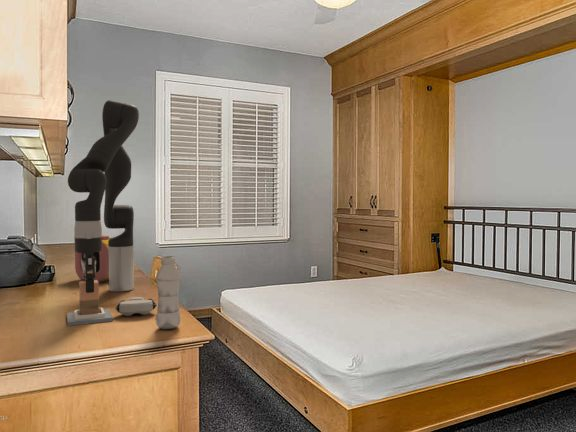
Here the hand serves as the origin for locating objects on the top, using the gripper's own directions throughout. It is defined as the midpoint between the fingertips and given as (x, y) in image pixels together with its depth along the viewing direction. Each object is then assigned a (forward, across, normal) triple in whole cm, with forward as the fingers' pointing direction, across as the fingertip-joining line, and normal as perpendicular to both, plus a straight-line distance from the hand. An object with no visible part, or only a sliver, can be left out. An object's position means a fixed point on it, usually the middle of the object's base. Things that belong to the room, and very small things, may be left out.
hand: (89, 289), depth 139 cm
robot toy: (+9, -2, +14) cm, 17 cm away
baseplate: (+9, 0, 0) cm, 9 cm away
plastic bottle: (+9, +21, +19) cm, 30 cm away
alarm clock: (+9, -68, +8) cm, 69 cm away
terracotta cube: (+3, 0, 0) cm, 3 cm away
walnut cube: (+8, 0, 0) cm, 8 cm away
